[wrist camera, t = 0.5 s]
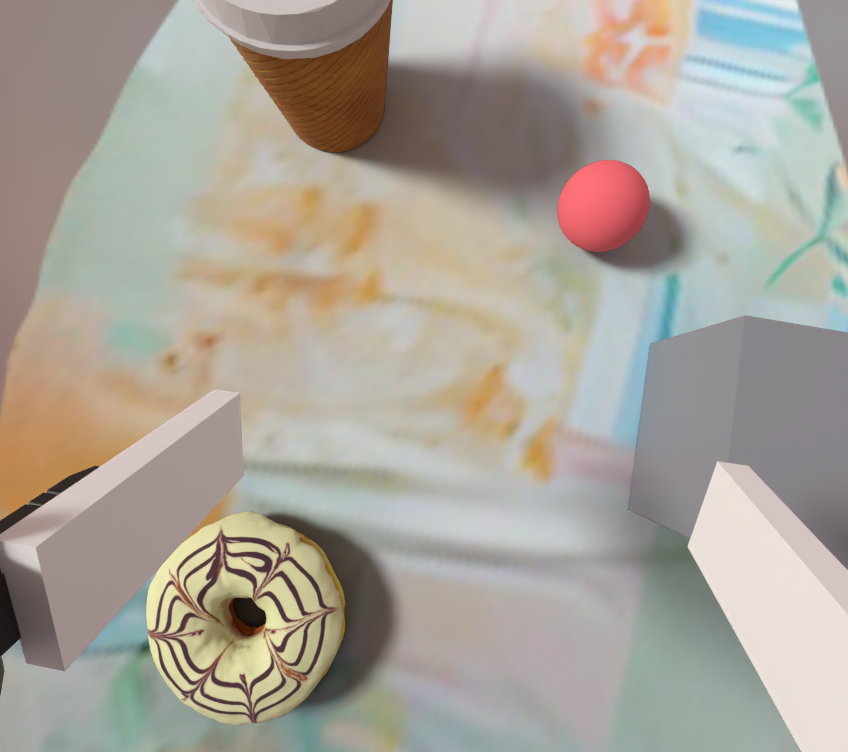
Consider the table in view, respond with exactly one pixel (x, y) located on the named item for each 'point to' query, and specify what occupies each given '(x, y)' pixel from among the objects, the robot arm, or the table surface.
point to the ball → (603, 205)
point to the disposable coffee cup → (315, 61)
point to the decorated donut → (235, 641)
